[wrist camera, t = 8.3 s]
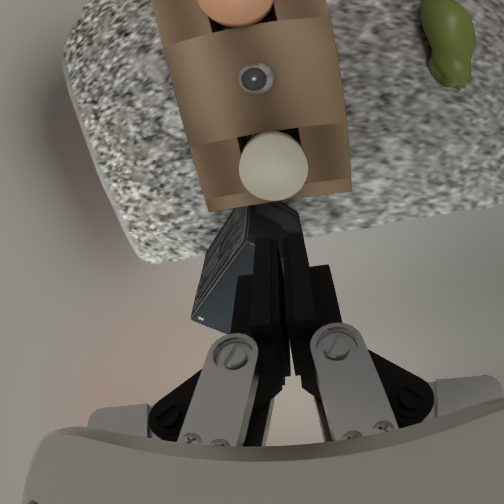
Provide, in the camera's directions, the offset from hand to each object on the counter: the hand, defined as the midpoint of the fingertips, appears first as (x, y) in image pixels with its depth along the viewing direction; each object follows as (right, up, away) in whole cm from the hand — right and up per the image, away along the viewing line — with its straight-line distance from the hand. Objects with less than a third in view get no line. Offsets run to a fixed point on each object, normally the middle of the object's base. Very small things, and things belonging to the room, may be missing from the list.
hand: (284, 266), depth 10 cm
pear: (+17, +22, +7) cm, 29 cm away
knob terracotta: (-2, +21, +7) cm, 22 cm away
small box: (-1, +3, +22) cm, 22 cm away
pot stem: (-1, +13, +7) cm, 14 cm away
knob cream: (+1, +11, +15) cm, 18 cm away
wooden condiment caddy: (-1, +16, +12) cm, 20 cm away
